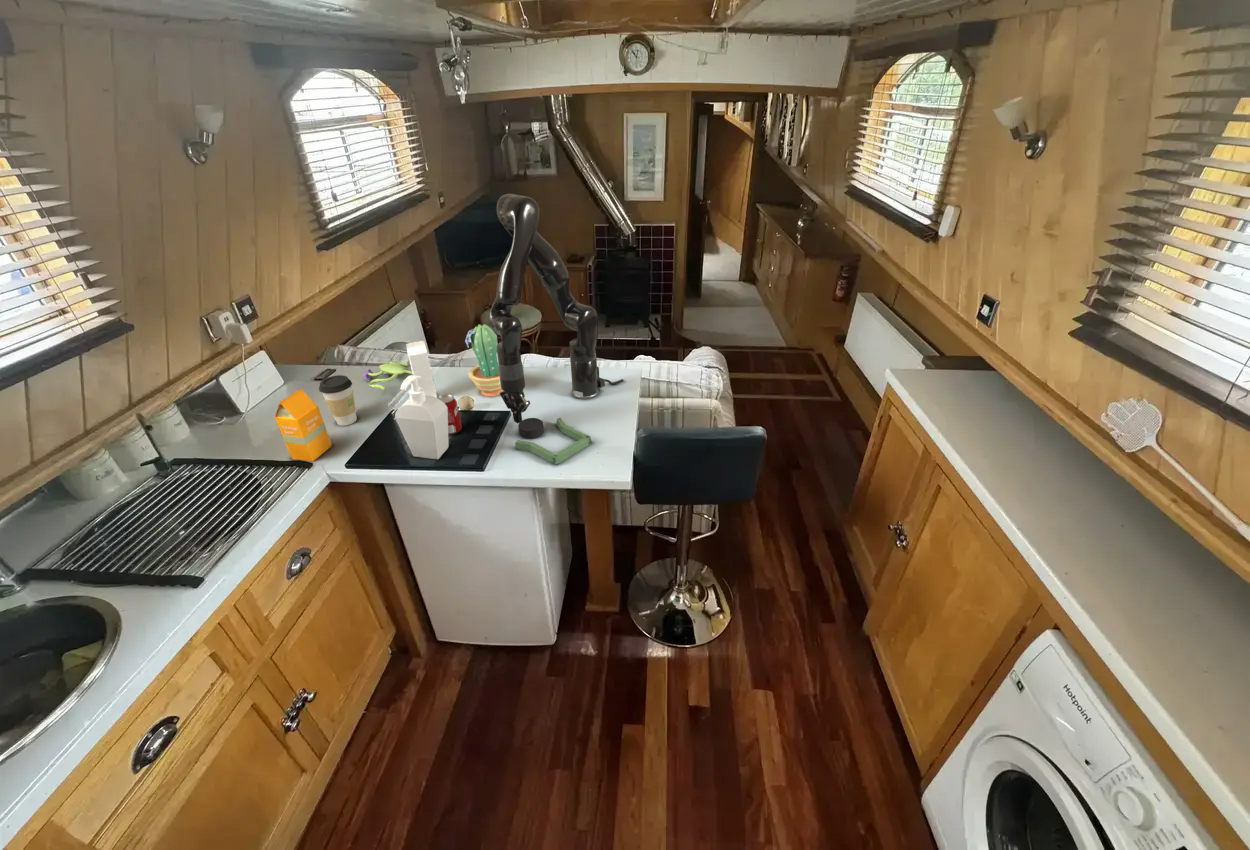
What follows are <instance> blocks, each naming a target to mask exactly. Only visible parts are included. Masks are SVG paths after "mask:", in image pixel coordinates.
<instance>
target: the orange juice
mask: <svg viewBox="0 0 1250 850" xmlns="http://www.w3.org/2000/svg"><path fill="white" fill-rule="evenodd" d="M274 419H275V421H276V423H277V426H278V429H279V431H280V433H281V436H282V439H283V442H284V444H285V447H286V449H287V451H288V453H289V456H290V458H291V459H292V460H300V461H306V462H314V461H315V460H316V459H318V458H319V457H320V456H322V454H324V453H325V452H326V451H327V450H329V449H330V448H332V442H331V440H330V436H329V434H328V431H327V427H326V424H325V422H324V419H323V417H322V414H321V410H320V409H319V405H317V404H316V403H315V402H314V400H312V399H311V398H310V396H309V395H308V394H306V392H305V391H304V390H303V388H299V389H298V390H296V391H294V392H292V394H290V395H288V396H287V397H286V398H283V399H282V400H280V401H279V403H278V406H277V409H276V412H275V416H274Z"/></svg>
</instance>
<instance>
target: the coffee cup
mask: <svg viewBox="0 0 1250 850" xmlns="http://www.w3.org/2000/svg"><path fill="white" fill-rule="evenodd" d="M352 385H353V382H352V380H351V379H350V378H349V377H348V376H346V375H342V374H341V375H338V374H336V375H331V376H328V377H326V378H324V379H322V380H321V381H320V382H319V386H318V390H319V392H320V393H322V396H323V399H324V401H325V404H326V405H327V407H328V409H329V411H330V413H331V415H332V416H333V418H334V420H335V422H336V424H337V425H338V426H350V425H351V424H354V423H356V421H357V420H358V418H357V417H358V416H357V412H356V411H357V410H356V403H355V397H354V391H353V389H352Z"/></svg>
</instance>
